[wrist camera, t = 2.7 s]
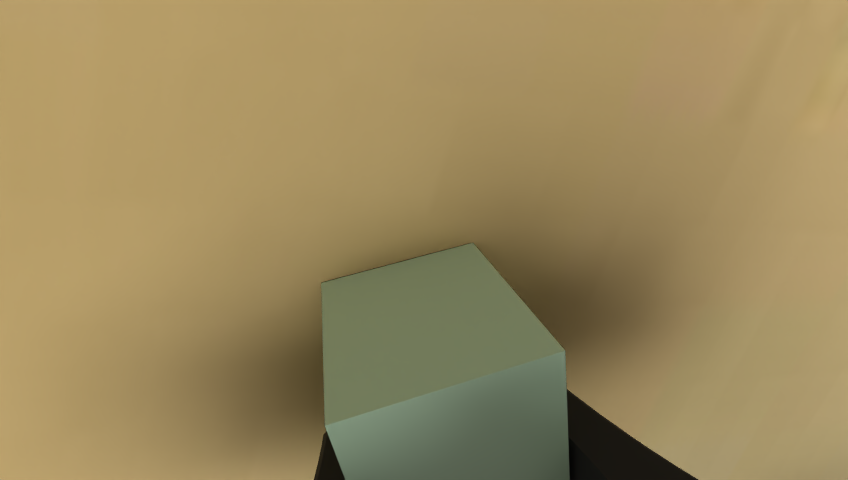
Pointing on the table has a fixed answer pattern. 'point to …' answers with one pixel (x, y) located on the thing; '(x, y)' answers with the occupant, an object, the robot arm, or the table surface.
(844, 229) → the table surface
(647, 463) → the robot arm
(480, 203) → the table surface
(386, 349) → the green brick
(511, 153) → the table surface
